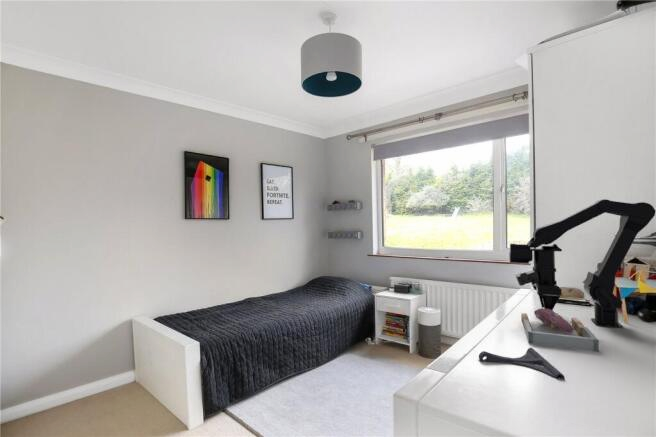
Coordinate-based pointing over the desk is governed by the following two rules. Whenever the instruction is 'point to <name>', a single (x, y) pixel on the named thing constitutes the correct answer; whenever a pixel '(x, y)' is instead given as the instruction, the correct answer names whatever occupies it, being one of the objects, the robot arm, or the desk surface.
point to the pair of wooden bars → (575, 323)
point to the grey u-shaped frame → (563, 339)
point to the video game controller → (553, 319)
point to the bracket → (525, 362)
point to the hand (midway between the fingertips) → (545, 310)
